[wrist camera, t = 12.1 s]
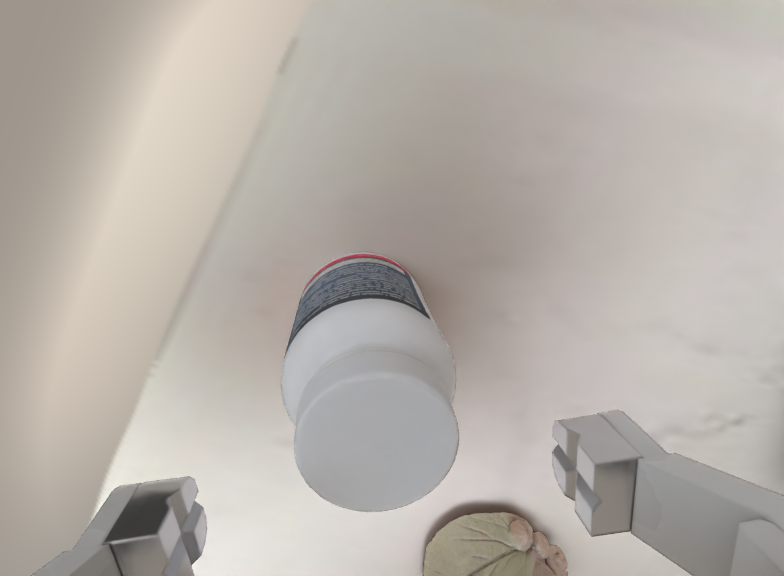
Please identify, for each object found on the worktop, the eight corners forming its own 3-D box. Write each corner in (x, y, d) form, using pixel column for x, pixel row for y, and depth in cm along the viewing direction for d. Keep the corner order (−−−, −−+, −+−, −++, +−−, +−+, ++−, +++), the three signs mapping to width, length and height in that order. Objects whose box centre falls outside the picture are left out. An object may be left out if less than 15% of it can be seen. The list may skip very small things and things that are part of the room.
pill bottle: (274, 292, 18) (213, 421, 10) (382, 226, 18) (416, 300, 9) (344, 385, 20) (343, 564, 11) (444, 327, 19) (520, 467, 11)
